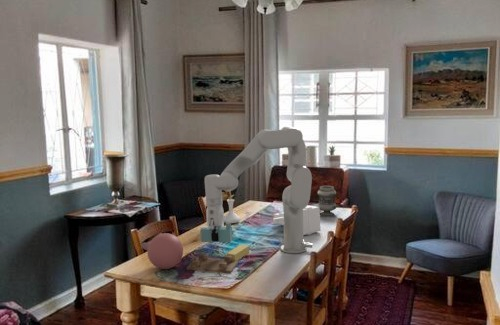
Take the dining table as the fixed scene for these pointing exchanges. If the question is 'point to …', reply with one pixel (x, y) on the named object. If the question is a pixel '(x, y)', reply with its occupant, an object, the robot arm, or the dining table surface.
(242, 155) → the robot arm
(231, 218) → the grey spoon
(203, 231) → the teal notched block
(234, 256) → the tan wooden bar
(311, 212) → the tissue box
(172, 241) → the balloon
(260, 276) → the dining table surface
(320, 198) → the apothecary jar
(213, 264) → the jig
